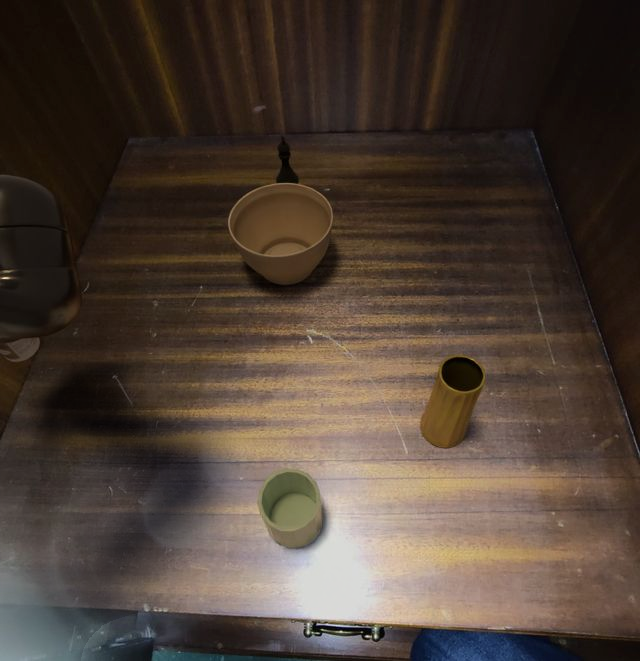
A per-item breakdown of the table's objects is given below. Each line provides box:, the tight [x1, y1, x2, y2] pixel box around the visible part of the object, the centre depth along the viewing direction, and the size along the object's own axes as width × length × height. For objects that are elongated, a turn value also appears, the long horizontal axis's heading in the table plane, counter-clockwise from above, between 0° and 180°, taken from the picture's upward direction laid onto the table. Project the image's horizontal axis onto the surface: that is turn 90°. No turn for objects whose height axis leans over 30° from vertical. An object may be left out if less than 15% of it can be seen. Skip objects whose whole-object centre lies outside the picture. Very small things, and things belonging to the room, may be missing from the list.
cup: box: [257, 467, 324, 549], centre depth 60 cm, size 7×7×8 cm
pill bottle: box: [0, 337, 41, 363], centre depth 61 cm, size 4×4×8 cm
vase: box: [419, 353, 487, 449], centre depth 64 cm, size 6×6×14 cm
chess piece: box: [275, 135, 300, 184], centre depth 97 cm, size 4×4×10 cm
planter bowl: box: [227, 183, 334, 286], centre depth 84 cm, size 16×16×11 cm
